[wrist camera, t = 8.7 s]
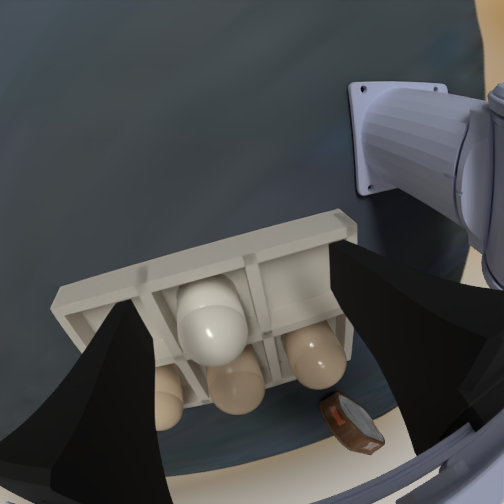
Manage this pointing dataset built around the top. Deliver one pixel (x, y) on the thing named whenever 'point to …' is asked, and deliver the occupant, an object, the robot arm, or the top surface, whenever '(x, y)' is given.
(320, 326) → the brown egg
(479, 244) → the robot arm
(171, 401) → the brown egg
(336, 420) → the tin
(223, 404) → the brown egg middle
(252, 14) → the top surface
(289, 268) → the egg carton
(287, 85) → the top surface
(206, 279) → the cream egg
